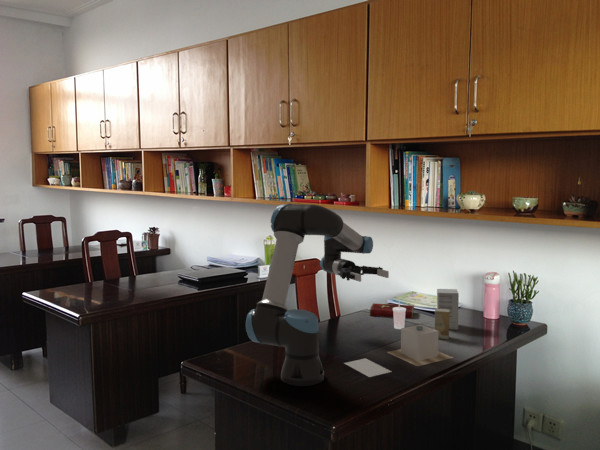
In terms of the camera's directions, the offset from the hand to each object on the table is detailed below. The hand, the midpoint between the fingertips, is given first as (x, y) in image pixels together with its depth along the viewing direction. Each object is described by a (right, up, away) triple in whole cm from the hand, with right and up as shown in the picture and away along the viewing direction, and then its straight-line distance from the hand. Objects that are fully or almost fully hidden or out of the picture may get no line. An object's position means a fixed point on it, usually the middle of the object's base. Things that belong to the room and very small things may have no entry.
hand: (374, 276), depth 215 cm
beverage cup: (+16, -27, +32) cm, 45 cm away
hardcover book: (+17, -25, +56) cm, 64 cm away
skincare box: (+31, -28, +17) cm, 46 cm away
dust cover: (+17, -30, -6) cm, 35 cm away
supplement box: (+38, -27, +33) cm, 57 cm away
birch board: (+17, -31, -6) cm, 35 cm away
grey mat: (-3, -32, -16) cm, 36 cm away
